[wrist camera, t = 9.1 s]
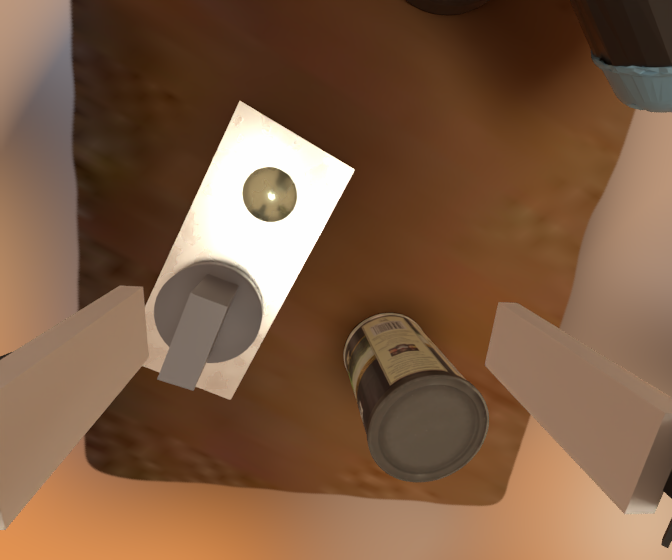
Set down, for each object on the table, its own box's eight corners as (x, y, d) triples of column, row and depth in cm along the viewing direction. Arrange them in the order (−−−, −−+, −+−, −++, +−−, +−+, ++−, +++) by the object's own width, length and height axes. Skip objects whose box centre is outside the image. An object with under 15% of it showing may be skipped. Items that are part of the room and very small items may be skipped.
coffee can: (374, 405, 44) (411, 503, 31) (326, 346, 41) (342, 426, 28) (442, 358, 44) (510, 437, 30) (398, 294, 41) (451, 351, 27)
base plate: (242, 105, 33) (237, 97, 30) (351, 170, 36) (357, 169, 33) (130, 348, 38) (116, 363, 35) (233, 389, 41) (228, 406, 38)
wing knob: (180, 245, 34) (148, 263, 26) (277, 284, 36) (274, 311, 29) (147, 334, 36) (108, 375, 28) (242, 366, 38) (229, 412, 31)
